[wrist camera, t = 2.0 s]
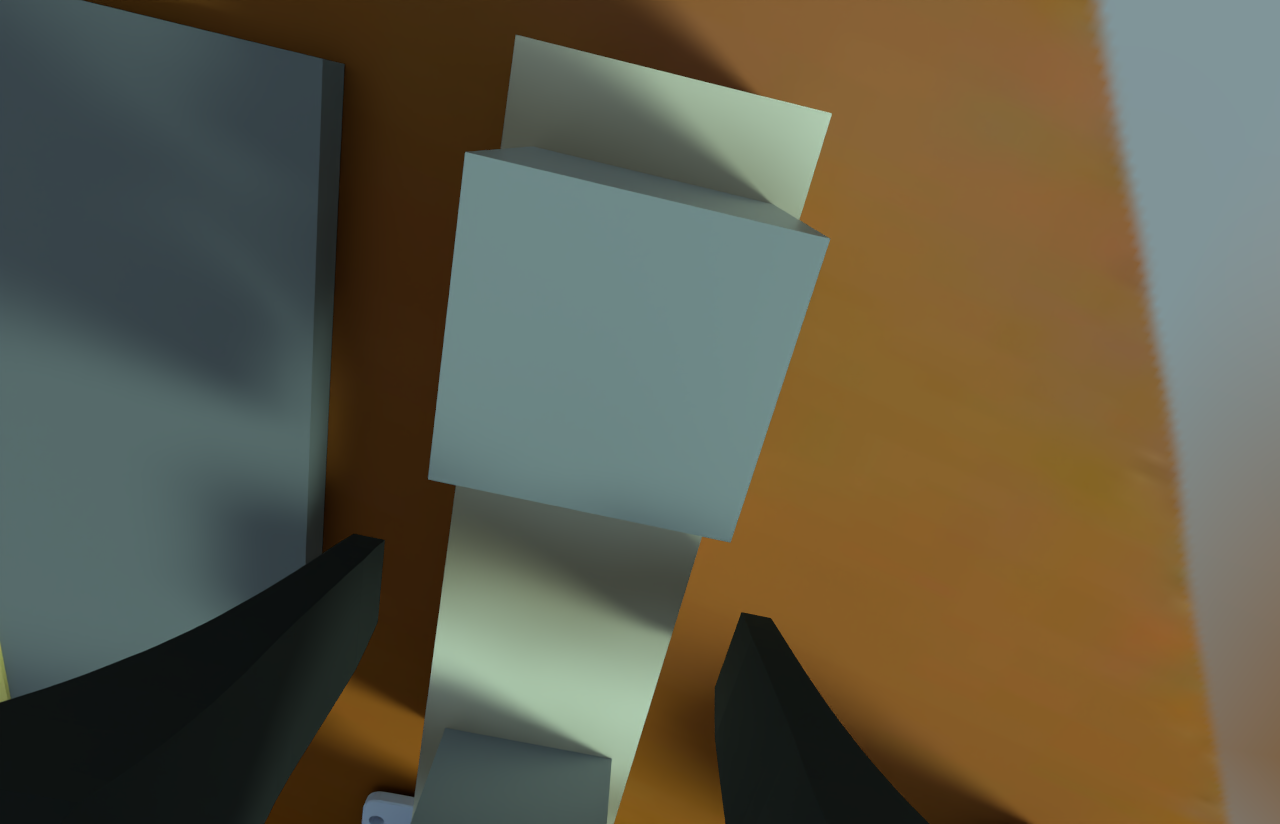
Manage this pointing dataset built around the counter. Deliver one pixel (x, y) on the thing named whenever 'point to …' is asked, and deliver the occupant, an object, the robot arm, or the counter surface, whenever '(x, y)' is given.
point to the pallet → (574, 540)
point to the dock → (156, 328)
